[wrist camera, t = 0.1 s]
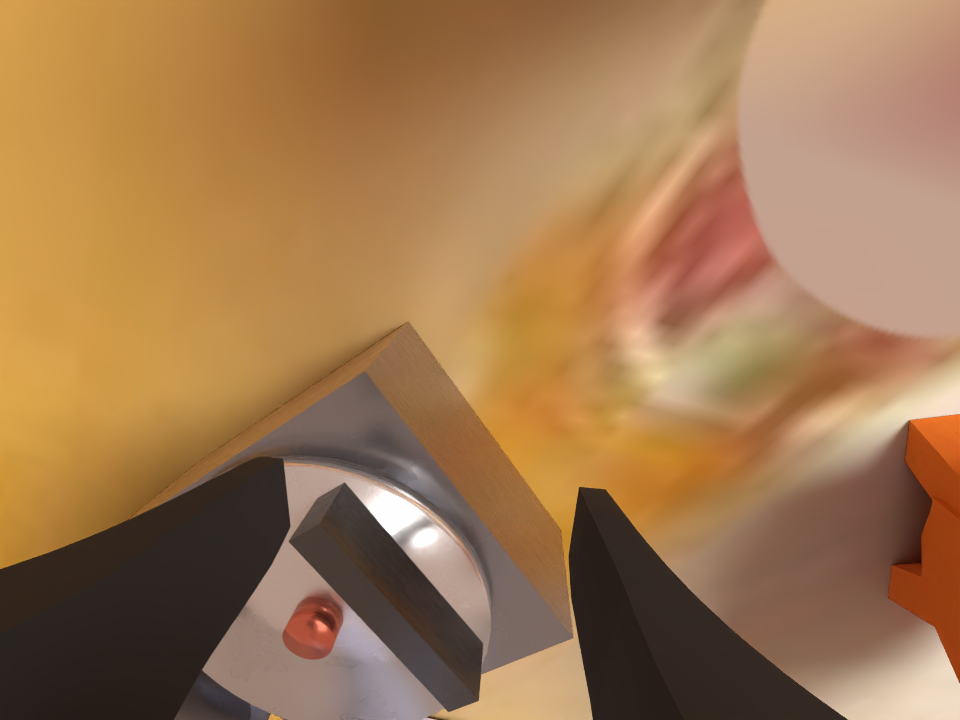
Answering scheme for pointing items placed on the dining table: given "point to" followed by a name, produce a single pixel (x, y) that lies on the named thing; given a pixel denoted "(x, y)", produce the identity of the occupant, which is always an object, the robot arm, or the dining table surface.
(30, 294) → the dining table surface
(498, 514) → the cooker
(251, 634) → the lid
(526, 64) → the dining table surface
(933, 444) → the orange lumpy piece
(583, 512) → the robot arm
